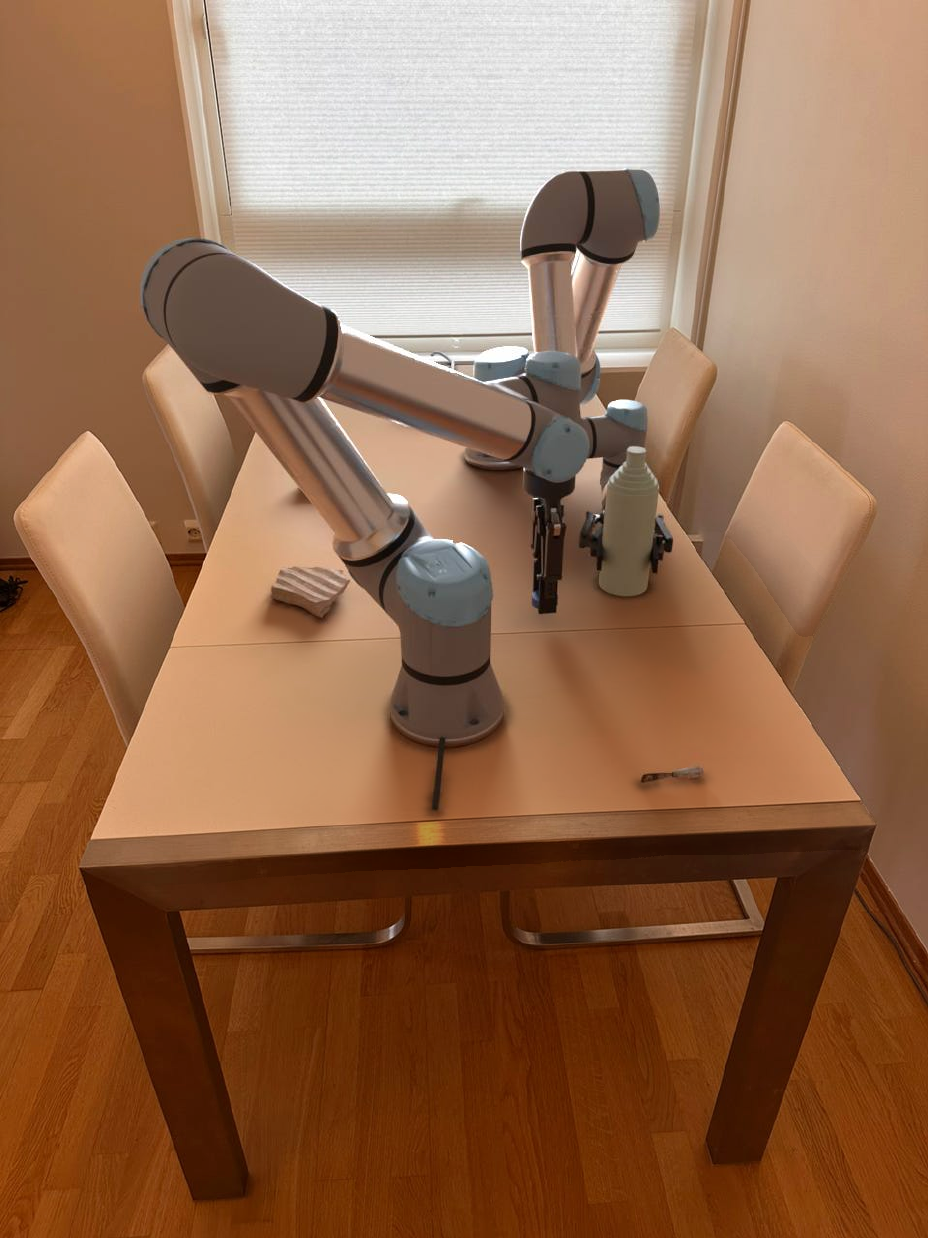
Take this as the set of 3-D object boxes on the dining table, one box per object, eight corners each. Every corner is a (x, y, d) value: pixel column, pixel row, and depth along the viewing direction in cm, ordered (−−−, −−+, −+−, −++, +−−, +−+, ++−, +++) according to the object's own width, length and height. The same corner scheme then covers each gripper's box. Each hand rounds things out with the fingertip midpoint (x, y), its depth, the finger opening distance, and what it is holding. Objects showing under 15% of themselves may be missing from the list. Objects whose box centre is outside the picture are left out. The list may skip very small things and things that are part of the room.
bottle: (608, 568, 155) (621, 436, 142) (653, 579, 152) (670, 445, 139) (591, 589, 149) (602, 453, 136) (637, 600, 146) (653, 463, 133)
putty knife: (703, 777, 109) (705, 767, 109) (642, 788, 108) (644, 777, 107) (700, 772, 110) (702, 762, 109) (639, 782, 109) (640, 771, 108)
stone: (359, 584, 150) (358, 571, 149) (323, 619, 141) (322, 605, 140) (294, 571, 155) (292, 558, 153) (254, 604, 145) (252, 590, 144)
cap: (532, 610, 138) (532, 602, 137) (531, 596, 141) (531, 588, 141) (558, 610, 138) (558, 602, 137) (556, 597, 141) (557, 588, 140)
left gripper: (589, 486, 120) (580, 632, 133) (562, 441, 135) (556, 576, 147) (535, 490, 120) (530, 636, 132) (513, 444, 134) (511, 579, 146)
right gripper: (678, 526, 163) (691, 588, 144) (563, 521, 165) (560, 581, 146) (683, 488, 159) (697, 547, 140) (565, 483, 161) (563, 540, 142)
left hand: (544, 604), depth 140 cm, fingers closed on cap, 4 cm apart
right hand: (627, 564), depth 143 cm, fingers closed on bottle, 8 cm apart
